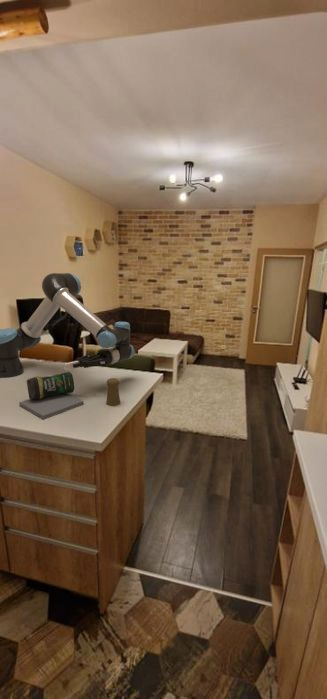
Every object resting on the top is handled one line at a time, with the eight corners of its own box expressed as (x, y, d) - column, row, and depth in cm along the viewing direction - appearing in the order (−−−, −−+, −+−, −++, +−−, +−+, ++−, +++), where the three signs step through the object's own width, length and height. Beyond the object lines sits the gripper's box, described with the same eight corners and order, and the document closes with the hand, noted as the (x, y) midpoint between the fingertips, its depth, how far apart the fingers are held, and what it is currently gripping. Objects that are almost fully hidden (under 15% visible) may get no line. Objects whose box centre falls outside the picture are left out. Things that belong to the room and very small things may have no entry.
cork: (106, 400, 135) (106, 376, 133) (120, 400, 136) (120, 376, 133) (105, 406, 129) (105, 381, 127) (120, 405, 130) (119, 381, 127)
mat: (19, 405, 127) (19, 402, 127) (59, 393, 141) (59, 390, 141) (43, 419, 116) (42, 415, 116) (83, 404, 130) (83, 401, 130)
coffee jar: (76, 391, 135) (32, 401, 124) (70, 392, 141) (27, 401, 130) (72, 370, 136) (28, 377, 124) (66, 371, 142) (23, 378, 131)
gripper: (117, 366, 145) (74, 379, 127) (99, 361, 153) (56, 372, 135) (117, 351, 143) (74, 361, 126) (98, 346, 151) (55, 355, 133)
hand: (65, 367), depth 130 cm, fingers closed
